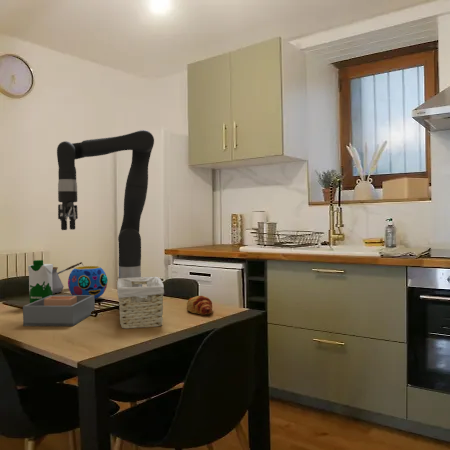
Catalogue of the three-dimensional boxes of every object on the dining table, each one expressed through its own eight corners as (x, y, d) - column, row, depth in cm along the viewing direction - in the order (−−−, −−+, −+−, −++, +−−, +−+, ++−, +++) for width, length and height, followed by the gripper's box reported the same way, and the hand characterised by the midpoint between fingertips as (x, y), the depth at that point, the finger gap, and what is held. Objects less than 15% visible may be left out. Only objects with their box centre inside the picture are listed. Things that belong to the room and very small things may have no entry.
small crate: (77, 314, 173) (76, 296, 172) (70, 318, 167) (70, 299, 166) (51, 314, 173) (51, 296, 173) (44, 318, 167) (44, 299, 167)
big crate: (94, 312, 180) (94, 295, 180) (72, 326, 158) (72, 306, 158) (50, 312, 181) (50, 295, 181) (23, 326, 159) (22, 306, 159)
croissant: (184, 315, 189) (176, 299, 188) (204, 302, 193) (195, 286, 191) (202, 325, 170) (193, 307, 168) (224, 310, 173) (214, 293, 172)
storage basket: (165, 327, 155) (164, 284, 155) (117, 330, 152) (116, 287, 151) (160, 313, 179) (159, 276, 178) (118, 315, 175) (117, 277, 175)
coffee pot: (39, 295, 221) (38, 265, 221) (39, 292, 231) (38, 263, 231) (84, 292, 229) (84, 263, 229) (82, 289, 240) (82, 261, 239)
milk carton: (26, 308, 191) (25, 261, 190) (37, 304, 200) (36, 259, 199) (46, 308, 190) (45, 261, 190) (56, 304, 199) (55, 258, 199)
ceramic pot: (76, 304, 197) (76, 270, 196) (62, 299, 210) (61, 267, 210) (114, 299, 208) (113, 267, 207) (98, 294, 221) (97, 264, 221)
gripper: (69, 189, 180) (70, 230, 180) (83, 191, 194) (83, 229, 194) (51, 189, 180) (52, 230, 180) (65, 191, 194) (66, 229, 195)
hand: (68, 229), depth 187 cm, fingers open, 8 cm apart
